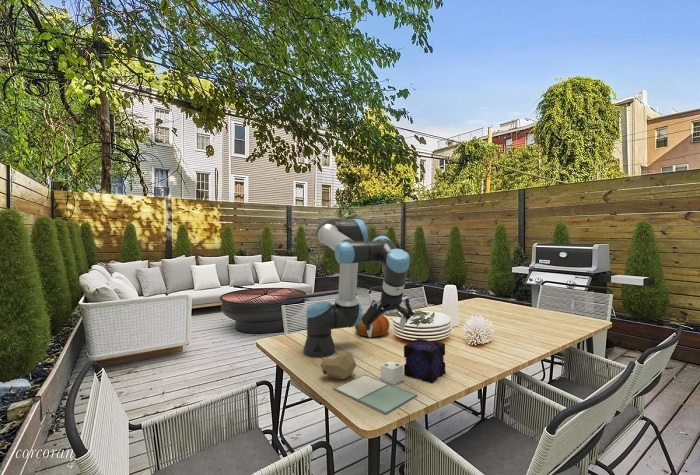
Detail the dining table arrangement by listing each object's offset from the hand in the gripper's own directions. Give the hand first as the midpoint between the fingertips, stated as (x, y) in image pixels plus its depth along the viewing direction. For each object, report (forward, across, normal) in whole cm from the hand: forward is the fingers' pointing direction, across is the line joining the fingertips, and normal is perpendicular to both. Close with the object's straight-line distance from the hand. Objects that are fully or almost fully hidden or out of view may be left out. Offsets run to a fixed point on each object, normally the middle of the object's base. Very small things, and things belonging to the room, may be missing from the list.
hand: (385, 331), depth 132 cm
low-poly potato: (+20, -18, -2) cm, 27 cm away
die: (+16, +1, -11) cm, 19 cm away
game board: (+11, -10, -17) cm, 22 cm away
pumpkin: (+48, +14, +39) cm, 63 cm away
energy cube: (+18, +15, -11) cm, 26 cm away
